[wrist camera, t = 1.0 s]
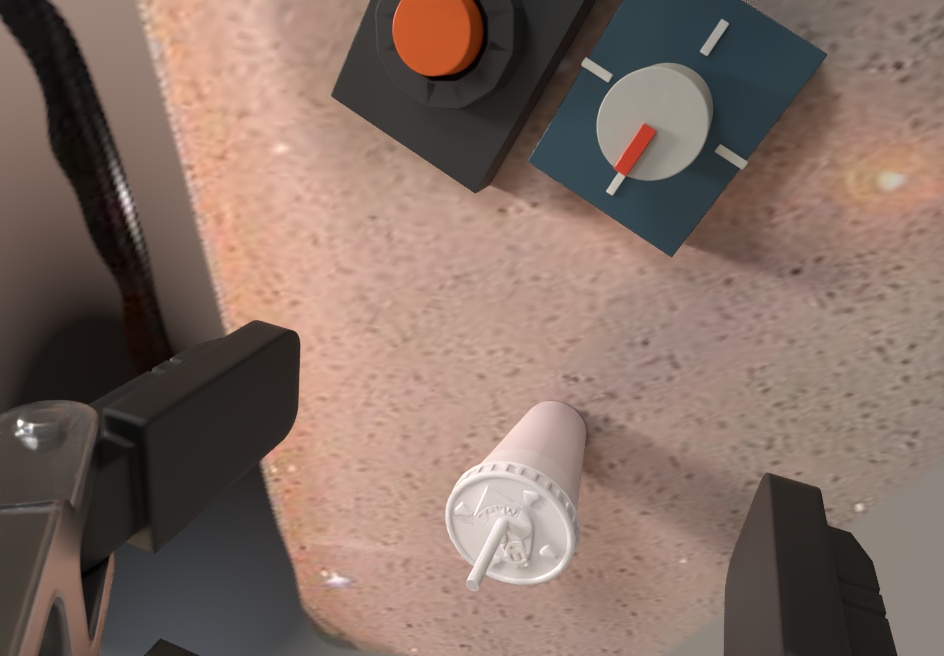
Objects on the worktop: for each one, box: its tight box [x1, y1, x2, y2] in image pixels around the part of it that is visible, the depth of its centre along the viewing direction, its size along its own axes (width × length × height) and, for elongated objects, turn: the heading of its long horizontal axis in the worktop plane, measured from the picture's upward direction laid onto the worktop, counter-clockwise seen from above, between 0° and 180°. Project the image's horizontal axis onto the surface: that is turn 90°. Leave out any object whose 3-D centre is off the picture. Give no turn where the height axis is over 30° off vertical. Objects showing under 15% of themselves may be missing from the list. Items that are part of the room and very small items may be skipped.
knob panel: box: [528, 0, 827, 257], centre depth 31 cm, size 10×8×3 cm
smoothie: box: [445, 401, 586, 591], centre depth 35 cm, size 6×6×14 cm
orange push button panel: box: [331, 0, 595, 193], centre depth 32 cm, size 12×9×4 cm
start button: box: [393, 0, 484, 76], centre depth 30 cm, size 4×4×2 cm
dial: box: [597, 63, 713, 181], centre depth 27 cm, size 4×4×5 cm
